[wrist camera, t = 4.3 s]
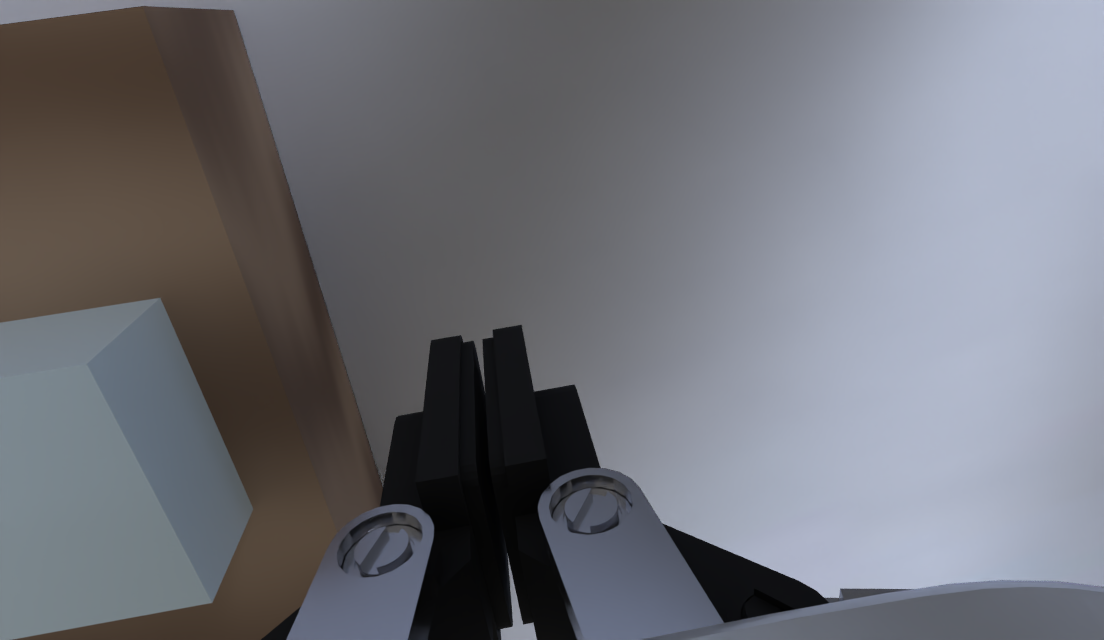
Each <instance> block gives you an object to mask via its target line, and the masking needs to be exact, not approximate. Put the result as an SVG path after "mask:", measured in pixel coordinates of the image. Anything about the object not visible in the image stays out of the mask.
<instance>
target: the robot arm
mask: <svg viewBox="0 0 1104 640" xmlns="http://www.w3.org/2000/svg"><path fill="white" fill-rule="evenodd" d="M483 358H484V377H485V391H484V386H483V381H482V376H481V371H480V367H479V362H478V357H477V352H476V348H475V344H474V341H470V342H465V343H463V339H462V337H461V335H460V336H454V337H448V338H442V339H437V340H431V345H430V354H429V363H428V372H427V381H426V390H425V399H424V408H423V412H418V413H412V414H407V415H401V416H398V417H396V420H395V424H394V429H393V435H392V440H391V446H390V452H389V457H388V463H387V468H386V474H385V480H384V485H383V491H382V496H381V502H380V507H377V508H375V509H372V510H370V511H367V512H365V513H362V514H361V515H359V516H358V517H356V518H355V519H353V520H351V521H350V522H348V523H347V524H346V525H345V526H344V527H343V528H342V529H341V530H340V531H339V532H338V533H337V534H336V535H335V537H334V538H333V540H332V541H331V543H330V544H329V546H328V548H327V550H326V552H325V555H324V557H323V559H322V561H321V563H320V566H319V568H318V570H317V572H316V575H315V577H314V579H313V581H312V584H311V586H310V588H309V590H308V592H307V595H306V597H305V599H304V601H303V604H302V606H301V607H299V608H298V609H297V610H296V611H295V612H293V613H292V614H291V615H290V616H289V617H287V618H286V619H285V620H284V621H283V622H281V623H280V624H279V625H278V626H277V627H275V628H274V629H273V630H272V631H271V632H269V633H268V634H267V635H266V636H264V637H263V638H262V639H261V640H501V630H500V629H503V628H508V627H512V626H513V619H512V606H511V594H510V581H509V568H508V557H509V562H510V566H511V571H512V575H513V580H514V585H515V589H516V594H517V598H518V603H519V607H520V612H521V617H522V621H523V624H528V623H533V622H534V627H535V632H536V637H537V640H1104V587H1102V586H1093V585H1085V584H1077V583H1069V582H1060V581H1011V580H998V581H983V582H968V583H954V584H946V585H939V586H933V587H926V588H920V589H840V595H839V598H824V597H822V596H821V595H820V594H819V593H818V592H817V591H816V590H814V589H812V588H810V587H808V586H807V585H805V584H803V583H801V582H800V581H797V580H795V579H793V578H790V577H788V576H786V575H783V574H781V573H778V572H776V571H774V570H771V569H769V568H767V567H764V566H762V565H760V564H757V563H755V562H752V561H750V560H748V559H745V558H743V557H741V556H738V555H736V554H733V553H731V552H729V551H726V550H724V549H722V548H719V547H717V546H714V545H712V544H710V543H707V542H705V541H703V540H700V539H698V538H695V537H693V536H691V535H688V534H686V533H684V532H681V531H679V530H676V529H674V528H672V527H669V526H667V525H665V524H662V522H661V521H660V519H659V518H658V516H657V514H656V513H655V511H654V510H653V508H652V506H651V505H650V503H649V502H648V500H647V498H646V497H645V495H644V494H643V492H642V490H641V489H640V487H639V486H638V485H637V484H636V483H635V482H634V481H633V480H632V479H631V478H629V477H628V476H626V475H624V474H622V473H620V472H618V471H614V470H610V469H606V468H600V465H599V462H598V459H597V455H596V452H595V449H594V446H593V442H592V439H591V436H590V432H589V429H588V426H587V423H586V419H585V416H584V413H583V409H582V406H581V403H580V399H579V396H578V393H577V390H576V387H575V385H569V386H564V387H558V388H552V389H547V390H541V391H536V392H534V390H533V384H532V379H531V374H530V368H529V363H528V358H527V352H526V347H525V341H524V336H523V331H522V325H518V326H512V327H506V328H501V329H495V330H493V338H488V339H483ZM507 553H508V556H507Z"/></svg>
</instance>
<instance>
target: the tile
mask: <svg viewBox="0 0 1104 640" xmlns="http://www.w3.org/2000/svg"><path fill="white" fill-rule="evenodd" d="M252 511H253V507H252V505H251V502H250V500H249V498H248V496H247V493H246V491H245V489H244V487H243V484H242V482H241V480H240V478H239V475H238V473H237V471H236V468H235V466H234V464H233V462H232V459H231V457H230V455H229V453H228V450H227V448H226V446H225V443H224V441H223V439H222V437H221V434H220V432H219V430H218V428H217V425H216V423H215V421H214V419H213V416H212V414H211V412H210V409H209V407H208V405H207V403H206V400H205V398H204V396H203V394H202V391H201V389H200V387H199V385H198V382H197V380H196V378H195V375H194V373H193V371H192V369H191V366H190V364H189V362H188V360H187V357H186V355H185V353H184V350H183V348H182V346H181V344H180V341H179V339H178V337H177V335H176V332H175V330H174V328H173V326H172V323H171V321H170V319H169V316H168V314H167V312H166V310H165V307H164V305H163V303H162V301H161V298H155V299H149V300H143V301H136V302H130V303H123V304H117V305H111V306H104V307H98V308H91V309H85V310H79V311H72V312H66V313H59V314H53V315H47V316H40V317H34V318H27V319H21V320H15V321H8V322H2V323H0V640H13V639H18V638H24V637H29V636H35V635H40V634H45V633H51V632H56V631H62V630H67V629H73V628H78V627H84V626H89V625H94V624H100V623H105V622H111V621H116V620H122V619H127V618H132V617H138V616H143V615H149V614H154V613H160V612H165V611H171V610H176V609H181V608H187V607H192V606H198V605H203V604H209V603H212V602H213V600H214V598H215V596H216V593H217V591H218V589H219V586H220V584H221V582H222V580H223V577H224V575H225V573H226V570H227V568H228V566H229V564H230V561H231V559H232V557H233V554H234V552H235V550H236V548H237V545H238V543H239V541H240V539H241V536H242V534H243V532H244V529H245V527H246V525H247V523H248V520H249V518H250V516H251V513H252Z"/></svg>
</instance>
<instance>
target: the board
mask: <svg viewBox="0 0 1104 640" xmlns="http://www.w3.org/2000/svg"><path fill="white" fill-rule="evenodd" d="M155 298H161V301H162V303H163V305H164V307H165V310H166V312H167V314H168V316H169V319H170V321H171V323H172V326H173V328H174V330H175V332H176V335H177V337H178V339H179V341H180V344H181V346H182V348H183V350H184V353H185V355H186V357H187V360H188V362H189V364H190V366H191V369H192V371H193V373H194V375H195V378H196V380H197V382H198V385H199V387H200V389H201V391H202V394H203V396H204V398H205V400H206V403H207V405H208V407H209V409H210V412H211V414H212V416H213V419H214V421H215V423H216V425H217V428H218V430H219V432H220V434H221V437H222V439H223V441H224V443H225V446H226V448H227V450H228V453H229V455H230V457H231V459H232V462H233V464H234V466H235V468H236V471H237V473H238V475H239V478H240V480H241V482H242V484H243V487H244V489H245V491H246V493H247V496H248V498H249V500H250V502H251V505H252V507H253V511H252V513H251V516H250V518H249V520H248V523H247V525H246V527H245V529H244V532H243V534H242V536H241V539H240V541H239V543H238V545H237V548H236V550H235V552H234V554H233V557H232V559H231V561H230V564H229V566H228V568H227V570H226V573H225V575H224V577H223V580H222V582H221V584H220V586H219V589H218V591H217V593H216V596H215V598H214V600H213V602H212V603H209V604H203V605H198V606H192V607H187V608H181V609H176V610H171V611H165V612H160V613H154V614H149V615H143V616H138V617H132V618H127V619H122V620H116V621H111V622H105V623H100V624H94V625H89V626H84V627H78V628H73V629H67V630H62V631H56V632H51V633H45V634H40V635H35V636H29V637H24V638H18V639H13V640H261V639H262V638H263V637H264V636H266V635H267V634H268V633H269V632H271V631H272V630H273V629H274V628H275V627H277V626H278V625H279V624H280V623H281V622H283V621H284V620H285V619H286V618H287V617H289V616H290V615H291V614H292V613H293V612H295V611H296V610H297V609H298V608H299V607H301V606H302V604H303V601H304V599H305V597H306V595H307V592H308V590H309V588H310V586H311V584H312V581H313V579H314V577H315V575H316V572H317V570H318V568H319V566H320V563H321V561H322V559H323V557H324V555H325V552H326V550H327V548H328V546H329V544H330V543H331V541H332V540H333V538H334V537H335V535H336V534H337V533H338V532H339V531H340V530H341V529H342V528H343V527H344V526H345V525H346V524H347V523H348V522H350V521H351V520H353V519H355V518H356V517H358V516H359V515H361V514H362V513H365V512H367V511H370V510H372V509H375V508H377V507H380V502H381V496H382V491H383V487H382V484H381V481H380V477H379V474H378V471H377V468H376V465H375V461H374V458H373V455H372V452H371V449H370V445H369V442H368V439H367V436H366V433H365V429H364V426H363V423H362V420H361V417H360V413H359V410H358V407H357V404H356V401H355V397H354V394H353V391H352V388H351V385H350V382H349V378H348V375H347V372H346V369H345V366H344V362H343V359H342V356H341V353H340V350H339V346H338V343H337V340H336V337H335V334H334V330H333V327H332V324H331V321H330V318H329V314H328V311H327V308H326V305H325V302H324V298H323V295H322V292H321V289H320V286H319V282H318V279H317V276H316V273H315V270H314V266H313V263H312V260H311V257H310V254H309V250H308V247H307V244H306V241H305V238H304V234H303V231H302V228H301V225H300V222H299V218H298V215H297V212H296V209H295V206H294V202H293V199H292V196H291V193H290V190H289V186H288V183H287V180H286V177H285V174H284V170H283V167H282V164H281V161H280V158H279V154H278V151H277V148H276V145H275V142H274V138H273V135H272V132H271V129H270V126H269V123H268V119H267V116H266V113H265V110H264V107H263V103H262V100H261V97H260V94H259V91H258V87H257V84H256V81H255V78H254V75H253V71H252V68H251V65H250V62H249V59H248V55H247V52H246V49H245V46H244V43H243V39H242V36H241V33H240V30H239V27H238V23H237V20H236V17H235V14H234V11H233V10H214V9H192V8H170V7H148V6H141V7H133V8H125V9H118V10H110V11H102V12H95V13H87V14H79V15H71V16H64V17H56V18H48V19H41V20H33V21H25V22H18V23H10V24H2V25H0V323H2V322H8V321H15V320H21V319H27V318H34V317H40V316H47V315H53V314H59V313H66V312H72V311H79V310H85V309H91V308H98V307H104V306H111V305H117V304H123V303H130V302H136V301H143V300H149V299H155Z"/></svg>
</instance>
